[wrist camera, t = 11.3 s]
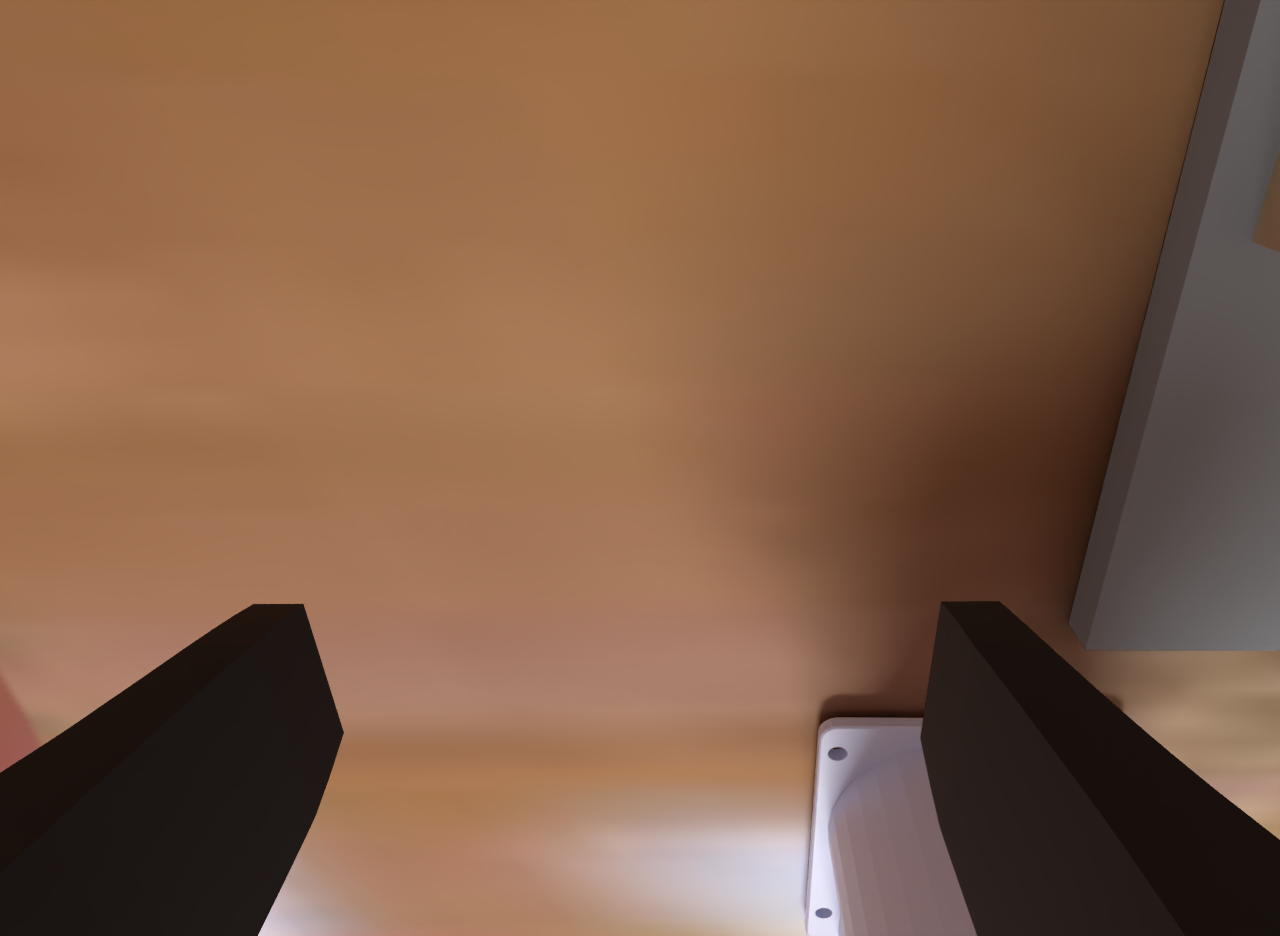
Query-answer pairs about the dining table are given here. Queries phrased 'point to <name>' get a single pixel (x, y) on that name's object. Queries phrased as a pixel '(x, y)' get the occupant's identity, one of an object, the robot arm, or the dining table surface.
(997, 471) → the dining table surface
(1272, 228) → the maple block
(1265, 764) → the dining table surface
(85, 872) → the robot arm
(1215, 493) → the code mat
